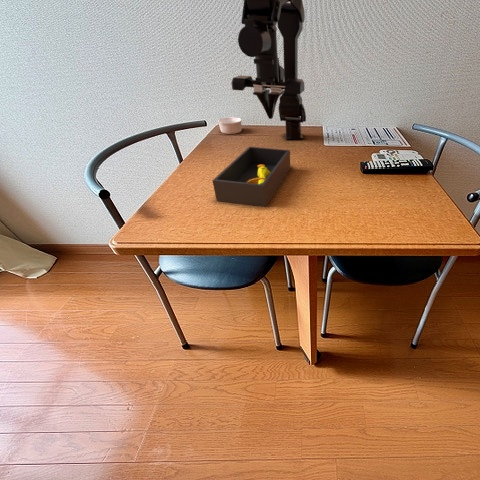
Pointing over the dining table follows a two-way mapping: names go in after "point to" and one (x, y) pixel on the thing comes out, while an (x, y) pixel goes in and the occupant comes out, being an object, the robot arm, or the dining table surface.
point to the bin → (252, 176)
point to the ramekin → (230, 125)
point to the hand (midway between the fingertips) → (270, 118)
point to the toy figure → (260, 175)
